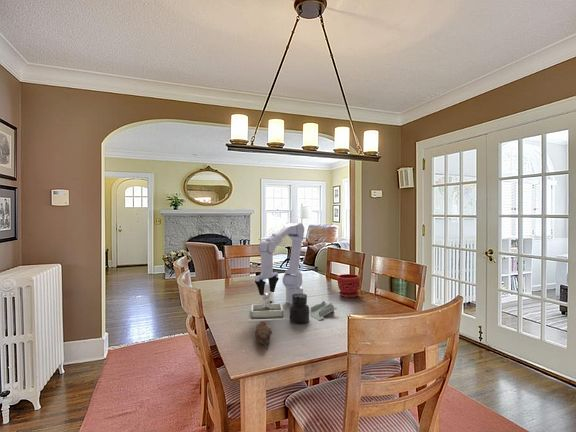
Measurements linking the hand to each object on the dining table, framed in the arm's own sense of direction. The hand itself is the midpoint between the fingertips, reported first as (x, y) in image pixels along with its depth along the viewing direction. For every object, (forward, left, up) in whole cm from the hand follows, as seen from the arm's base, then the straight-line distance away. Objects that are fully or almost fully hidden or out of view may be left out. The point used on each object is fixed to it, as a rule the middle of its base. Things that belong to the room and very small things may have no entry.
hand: (267, 293), depth 155 cm
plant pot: (-49, -29, -11) cm, 58 cm away
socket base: (0, -12, -10) cm, 16 cm away
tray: (0, 0, -10) cm, 10 cm away
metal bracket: (-27, +2, -11) cm, 29 cm away
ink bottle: (-14, +11, -11) cm, 21 cm away
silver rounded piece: (0, 0, -10) cm, 10 cm away
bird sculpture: (+3, +30, -11) cm, 32 cm away
